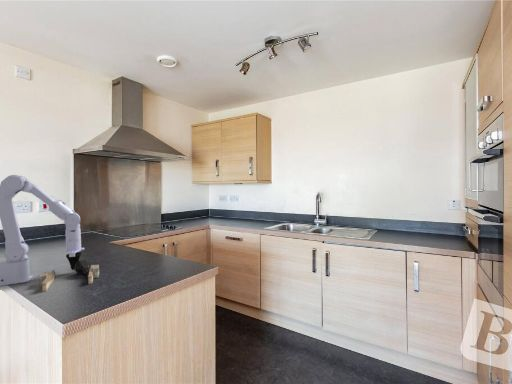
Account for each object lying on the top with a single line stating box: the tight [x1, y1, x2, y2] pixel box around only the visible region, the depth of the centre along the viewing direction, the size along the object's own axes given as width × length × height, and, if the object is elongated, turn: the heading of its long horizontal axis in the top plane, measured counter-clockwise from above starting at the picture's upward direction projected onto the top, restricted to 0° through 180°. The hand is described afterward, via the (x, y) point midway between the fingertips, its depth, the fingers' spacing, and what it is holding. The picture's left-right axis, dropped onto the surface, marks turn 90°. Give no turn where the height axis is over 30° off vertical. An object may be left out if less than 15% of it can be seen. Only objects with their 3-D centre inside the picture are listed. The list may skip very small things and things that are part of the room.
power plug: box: [74, 259, 91, 278], centre depth 119 cm, size 6×8×12 cm
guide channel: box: [39, 264, 100, 293], centre depth 112 cm, size 20×18×4 cm
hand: (74, 269), depth 123 cm, fingers closed
